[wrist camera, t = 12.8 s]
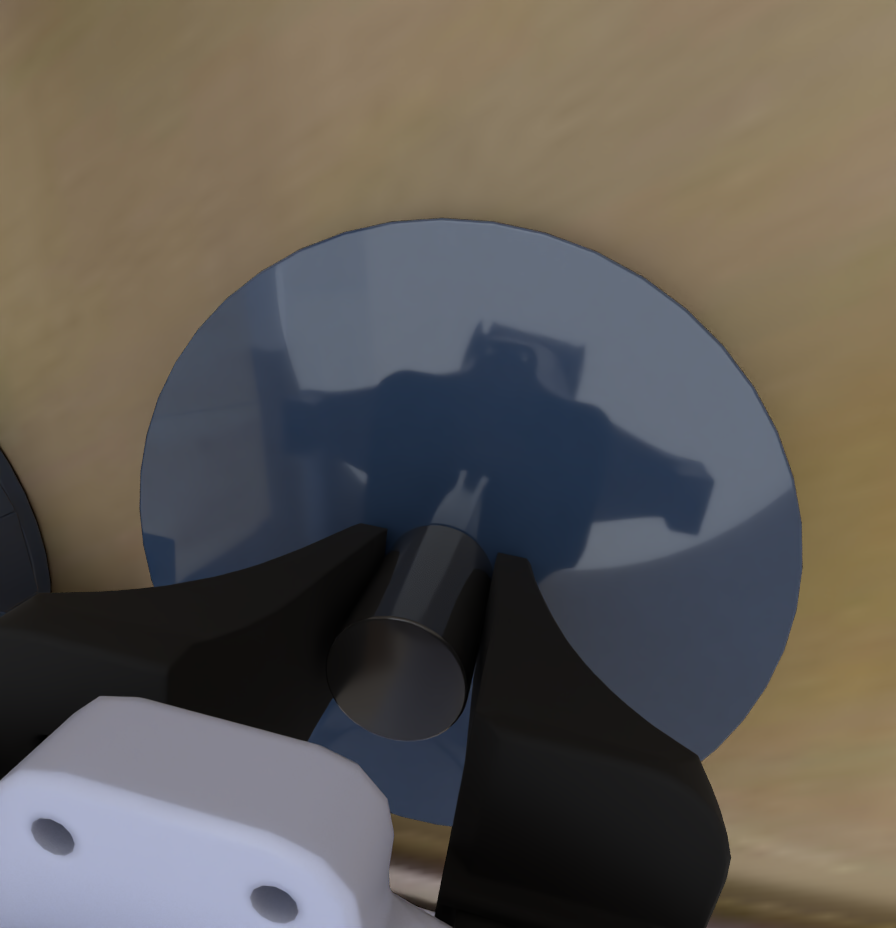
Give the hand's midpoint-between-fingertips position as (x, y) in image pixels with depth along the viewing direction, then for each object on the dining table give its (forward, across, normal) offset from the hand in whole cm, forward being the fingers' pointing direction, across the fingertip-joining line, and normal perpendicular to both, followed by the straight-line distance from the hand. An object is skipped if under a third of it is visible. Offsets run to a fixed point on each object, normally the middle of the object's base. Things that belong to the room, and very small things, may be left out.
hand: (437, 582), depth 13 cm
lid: (+1, 0, 0) cm, 1 cm away
